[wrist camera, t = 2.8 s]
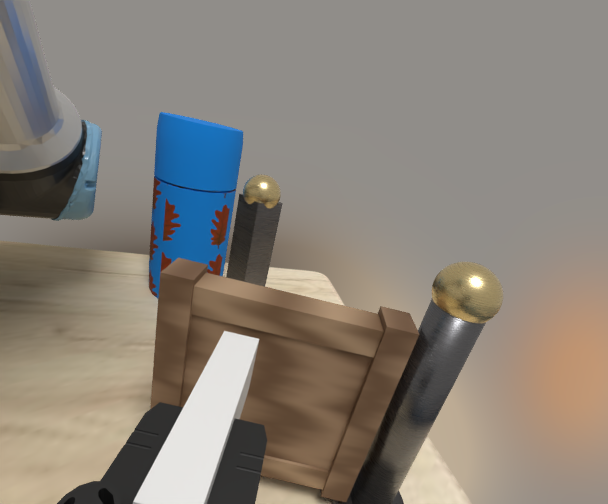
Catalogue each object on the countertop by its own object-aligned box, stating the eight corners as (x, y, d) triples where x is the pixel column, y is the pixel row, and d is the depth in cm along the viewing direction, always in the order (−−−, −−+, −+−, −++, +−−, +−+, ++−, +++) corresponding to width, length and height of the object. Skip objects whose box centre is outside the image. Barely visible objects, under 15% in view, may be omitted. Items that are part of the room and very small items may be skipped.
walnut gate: (344, 471, 27) (409, 313, 21) (346, 502, 24) (419, 334, 19) (162, 429, 26) (178, 257, 21) (147, 456, 24) (160, 272, 18)
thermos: (213, 271, 57) (233, 127, 48) (227, 303, 48) (254, 135, 40) (146, 271, 52) (155, 109, 43) (149, 307, 43) (160, 115, 34)
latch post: (266, 365, 38) (308, 185, 30) (223, 386, 34) (260, 182, 26) (237, 337, 42) (269, 169, 34) (196, 353, 37) (220, 164, 29)
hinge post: (318, 479, 27) (406, 242, 19) (372, 459, 30) (467, 246, 22) (357, 563, 22) (496, 293, 14) (417, 530, 25) (559, 290, 17)
